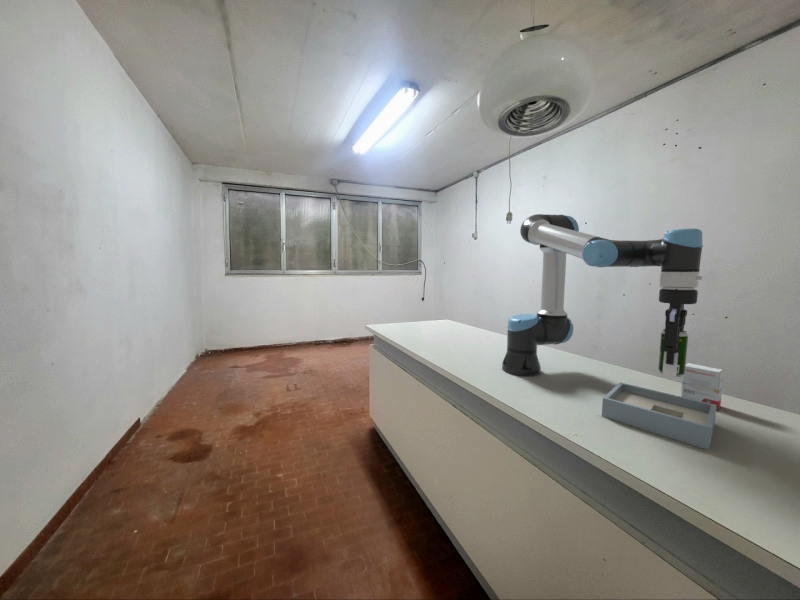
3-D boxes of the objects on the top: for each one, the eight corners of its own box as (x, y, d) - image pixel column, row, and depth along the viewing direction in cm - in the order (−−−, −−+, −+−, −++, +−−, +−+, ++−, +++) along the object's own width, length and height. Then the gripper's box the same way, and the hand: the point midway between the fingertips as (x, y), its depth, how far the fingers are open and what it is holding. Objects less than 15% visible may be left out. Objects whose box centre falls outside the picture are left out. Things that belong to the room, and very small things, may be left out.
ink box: (721, 406, 93) (725, 369, 92) (717, 410, 91) (721, 372, 89) (684, 396, 101) (687, 362, 99) (679, 400, 98) (682, 365, 97)
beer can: (688, 378, 79) (692, 333, 77) (662, 375, 81) (666, 331, 79) (679, 371, 83) (682, 329, 82) (654, 369, 86) (658, 328, 84)
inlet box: (601, 415, 88) (602, 397, 87) (618, 398, 99) (620, 382, 99) (708, 450, 71) (711, 428, 71) (714, 424, 83) (716, 405, 82)
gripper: (693, 290, 71) (685, 385, 73) (701, 287, 83) (694, 368, 85) (653, 289, 77) (646, 377, 79) (665, 286, 88) (659, 362, 91)
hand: (671, 372), depth 82 cm, fingers closed on beer can, 5 cm apart
